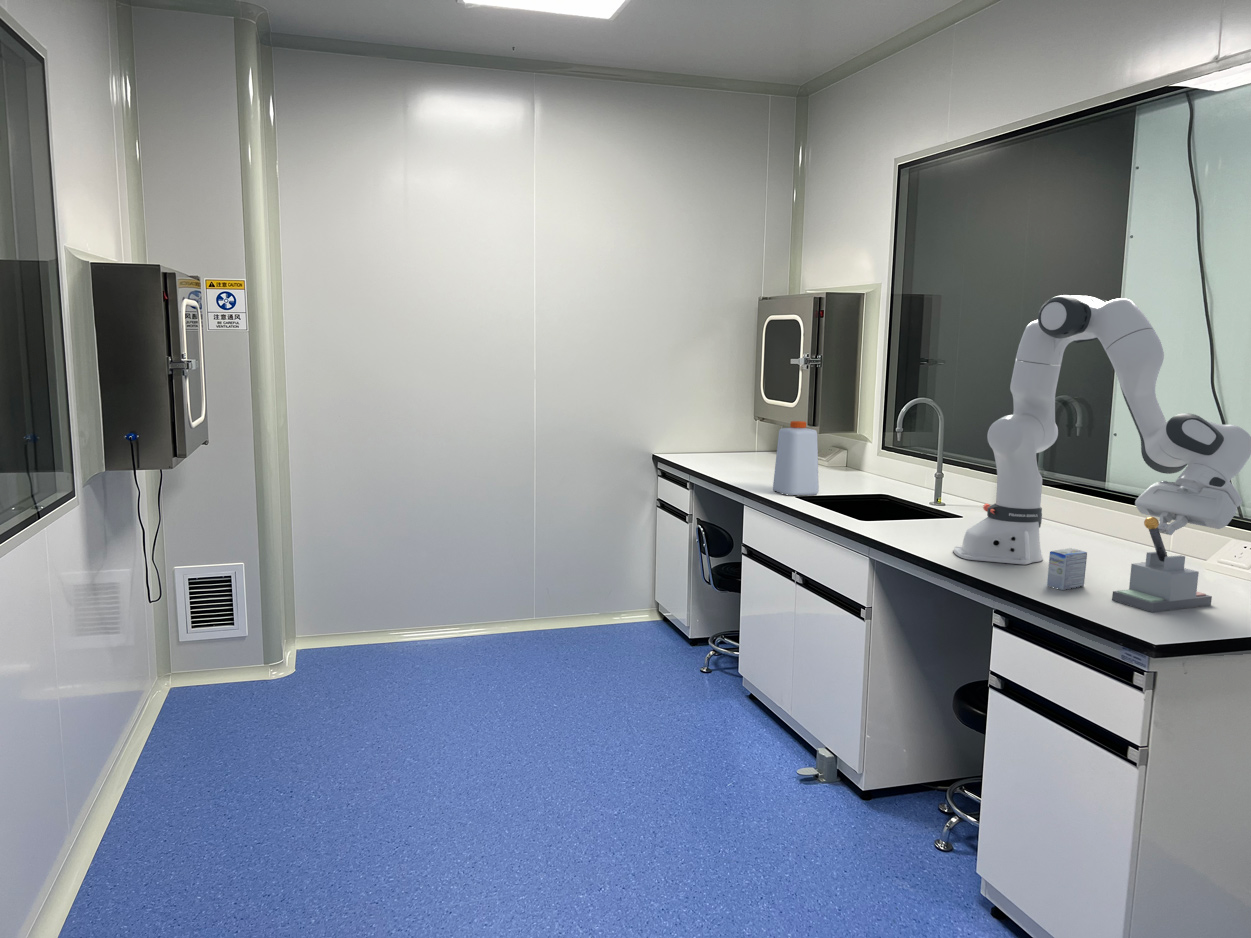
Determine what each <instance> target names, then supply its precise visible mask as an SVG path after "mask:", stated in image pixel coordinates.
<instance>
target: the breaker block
mask: <svg viewBox="0 0 1251 938" xmlns="http://www.w3.org/2000/svg"><path fill="white" fill-rule="evenodd" d="M1166 553H1167V554H1168V552H1167V551H1166ZM1185 563H1186V556H1185V555H1182V554H1181V555H1174V556H1173V555H1171V556H1169V555H1168V557H1165V560H1164V562H1162V561H1160V560H1159V558H1158V556H1157V553H1156V551H1150V552H1146V557H1145V562H1137V563H1134V562H1133V563H1131V565H1130V574H1129V575H1130V577H1129V586H1128V589H1122V590H1113V591H1112V597H1111V600H1112V601H1114V600H1115V601H1114V602H1117V601H1118V602H1117V603H1120V602H1121V603H1120V604H1123V605H1124V604H1125V605H1127V604H1128V605H1127V606H1130V605H1131V607H1133V606H1134V608H1136V607H1138V609H1140V608H1141V609H1140V610H1143V609H1144V611H1146V610H1147V611H1146V612H1149V611H1150V613H1157V612H1158V613H1159V612H1168V611H1173V610H1174V611H1175V610H1183V609H1190V608H1191V607H1192V608H1198V607H1199V606H1200V607H1206V606H1207V605H1208V606H1212V600H1213V599H1212V598H1213V597H1212V595H1209V594H1207V593H1204V592H1200V591H1198V584H1199V583H1198V582H1199V574H1200V573H1199V571H1198V570H1194V569H1190V568H1185ZM1192 608H1191V609H1192Z"/></svg>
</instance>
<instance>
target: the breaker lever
mask: <svg viewBox="0 0 1251 938" xmlns="http://www.w3.org/2000/svg"><path fill="white" fill-rule="evenodd" d="M1159 523H1160V520H1158V518H1157V517H1155V516H1148V517H1146V518H1145V519H1144V521H1143V525H1144V527H1145V528H1146V529H1147V530H1148V532H1149V534H1150V538H1151V539H1152V540H1151V541H1152V543H1153V546H1154V549H1155V552H1156V553H1157V556H1158V558H1159V560H1160V561H1162V562H1164V560H1165V557H1169V555H1168V552H1167V551H1166V548H1165V545H1164V542H1163V539H1162V536H1161V533H1160V532H1159V529H1158V525H1159ZM1166 552H1167V553H1166Z"/></svg>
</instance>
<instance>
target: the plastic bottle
mask: <svg viewBox="0 0 1251 938" xmlns="http://www.w3.org/2000/svg"><path fill="white" fill-rule="evenodd" d="M789 423H790V425H789V427H782V428H780V429H779V431H778V438H777V447H776V458H775V466H774V474H773V475H774V476H773V481H772V483H773V484H772V490H773V492H775V491H777V492H780V493H783V494H788V495H809V496H817V494H819V491H820V490H819V488H820V486H819V456H818V455H819V452H818V444H819V443H818V432H817V431H818V430H816V429H813V428H807V422H806V421H804V420H802V421H801V420H792V421H790V422H789ZM777 492H776V493H777ZM780 493H779V494H780ZM783 494H782V495H783Z"/></svg>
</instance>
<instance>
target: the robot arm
mask: <svg viewBox="0 0 1251 938" xmlns="http://www.w3.org/2000/svg"><path fill="white" fill-rule="evenodd" d="M1094 340H1098V341H1099V342H1100V343H1101V345H1102V347H1103V349H1104V352H1105V353H1106V354H1107V357H1108V358H1109V361H1110V362H1111V366H1112V367H1113V370H1114V372H1115V374H1116V377H1117V380H1118V384H1119V386H1120V389H1121V393H1122V396H1123V399H1124V402H1125V404H1126V406H1127V408H1128V411H1129V413H1130V416H1131V418H1132V421H1133V423H1134V425H1135V428H1136V430H1137V433H1138V435H1139V439H1140V449H1141V451H1140V452H1141V457H1142V459H1143V461H1144V462H1145V464H1146V465H1147V466H1148V467H1149V468H1150V469H1152V470H1154V471H1155V472H1157V473H1161V474H1167V475H1168V474H1176V473H1180V472H1181V471H1182V470H1183V471H1182V472H1181V474H1179V476H1178V477H1177V479H1175V481H1167V480H1161V481H1158V482H1153V484H1151V485H1150V486H1148V487H1147V488H1146V489H1145V490H1144V491H1143V492H1142V493H1141V494H1140V495H1138V497H1137V498H1136V499H1135V501H1134V506H1135V507H1136V509H1137V510H1138V512H1139V513H1140V514H1141V515H1146V516H1149V517H1155V518H1159V525H1158V529H1159V532H1160V534H1165V535H1168V536H1172V535H1174V533H1175V532H1176V531H1177V530H1179V529H1182V528H1184V527H1186V526H1187V524H1189V525H1195V526H1201V527H1205V528H1206V527H1207V528H1212V529H1215V530H1221V529H1223V528H1226V527H1227V526H1228V525H1229V523H1230V522H1231V521H1232V519H1233V518H1234V517H1235V515H1236V512H1237V508H1239V507H1240V506H1241V505H1242V503H1243V500H1242V497H1241V495H1240V493H1239V492H1238V490H1237V489H1236V487H1235V486H1234V485H1233V483H1232V482H1231V480H1232V479H1233V478H1234V477H1236V476H1238V474H1239V473H1240V472H1241V471H1242V469H1243V468H1244V466H1245V465H1246V463H1247V462H1248V460H1249V459H1250V457H1251V435H1250V434H1249V432H1247V431H1246V429H1244V428H1243V427H1240V426H1238V425H1236V424H1220V423H1215V422H1212V421H1208V420H1205V418H1203V417H1201V416H1200V415H1197V414H1194V413H1189V412H1188V413H1187V412H1183V413H1178V414H1175V415H1174V416H1172V417H1171V418H1169V420H1168V421H1167V420H1166V418H1165V415H1164V413H1163V410H1162V409H1161V406H1160V404H1159V402H1158V398H1157V395H1156V386H1157V385H1156V384H1157V382H1158V381H1157V380H1158V378H1159V373H1160V371H1161V369H1162V366H1163V363H1164V358H1165V352H1164V348H1163V345H1162V342H1161V340H1160V338H1159V336H1158V333H1156V331H1155V328H1154V327H1153V325H1152V324H1151V322H1150V321H1149V320H1148V318H1147V317H1146V315H1145V313H1143V311H1142V310H1141V309H1140V308H1139V306H1137V304H1135V302H1134V301H1132V300H1131V299H1128V298H1124V297H1123V298H1121V297H1120V298H1115V299H1111V300H1109V301H1107V300H1105V299H1103V298H1099V297H1094V296H1088V295H1081V294H1080V295H1069V294H1063V295H1062V294H1061V295H1057V296H1054V297H1050V298H1049V299H1048V300H1046V301H1044V303H1043V304H1042V305H1041V307H1040V308H1039V311H1038V314H1037V319H1036V320H1033V321H1031V322H1030V323H1028V324H1027V325H1026V326H1025V328H1024V331H1023V333H1022V336H1021V339H1020V342H1019V344H1018V348H1017V351H1016V352H1017V353H1016V355H1015V361H1014V366H1013V370H1012V376H1011V381H1010V386H1009V387H1010V388H1009V390H1010V392H1011V393H1010V394H1012V401H1013V412H1012V414H1008V415H1004V416H1002V417H1000V418H999V419H997V420H995V421H994V422H993V423H991V425H990V426H989V428H988V431H987V435H986V436H987V443H988V444H989V447H990V448H991V449H992V451H993V455H994V460H995V466H996V478H997V479H996V480H997V481H996V496H995V497H996V498H995V503H994V504H991V505H990V504H989V503H984V505H982V509H983V511H985V512H986V513H987V517H985V518H983V519H982V520H980V521H979V522H978V523H975V524H973V525H972V526H970V527H969V528H967V530H966V531H965V533H964V536H963V540H962V543H961V544H962V545H955V546H954V547H953V553H954V554H955V555H956V556H958V557H959V558H962V559H965V560H970V561H971V560H972V561H981V562H989V563H991V562H992V563H1001V564H1002V563H1003V564H1005V563H1006V564H1013V565H1014V564H1016V565H1029V564H1031V563H1038V562H1041V561H1043V560H1044V558H1043V554H1042V553H1043V552H1042V548H1041V539H1040V538H1041V537H1040V535H1041V534H1040V528H1041V525H1042V521H1043V520H1042V519H1043V508H1042V507H1041V502H1042V492H1043V477H1042V475H1041V473H1040V470H1039V467H1038V462H1037V454H1039V453H1042V452H1044V451H1046V450H1047V449H1049V448H1050V447H1051V446H1053V445H1054V444H1055V443H1056V441H1057V439H1058V436H1059V429H1058V428H1059V427H1058V425H1057V424H1056V392H1057V386H1058V382H1059V376H1060V371H1061V367H1062V363H1063V356H1064V352H1065V351H1066V348H1067V347H1068V345H1069V344H1070V343H1072V342H1074V343H1076V344H1078V343H1083V342H1090V341H1094Z"/></svg>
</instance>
